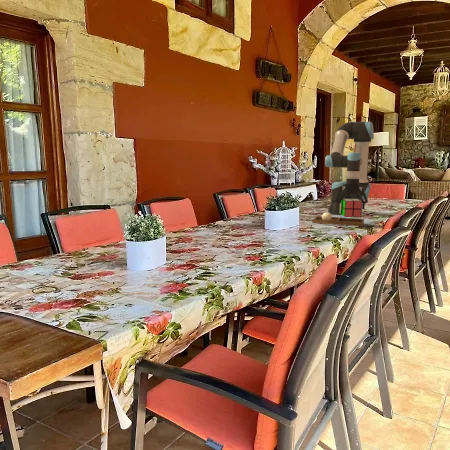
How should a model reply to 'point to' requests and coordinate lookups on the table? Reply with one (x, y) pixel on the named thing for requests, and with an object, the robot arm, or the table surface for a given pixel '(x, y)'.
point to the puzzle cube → (351, 207)
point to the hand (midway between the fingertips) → (350, 213)
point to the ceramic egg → (326, 216)
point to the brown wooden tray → (340, 221)
